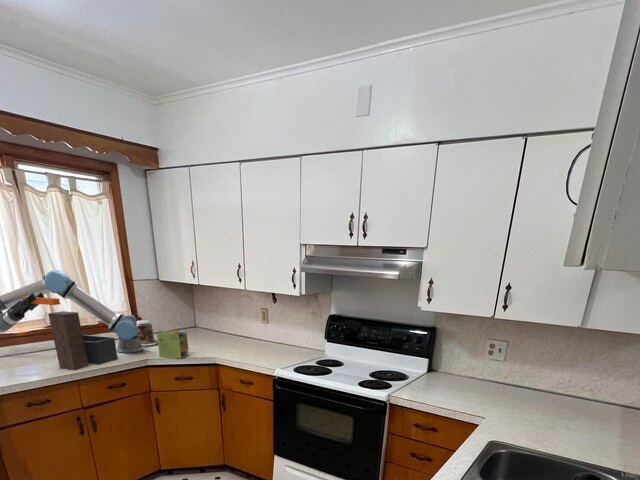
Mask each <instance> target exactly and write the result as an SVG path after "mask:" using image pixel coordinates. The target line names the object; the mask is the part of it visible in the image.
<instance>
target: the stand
mask: <svg viewBox="0 0 640 480" xmlns="http://www.w3.org/2000/svg"><path fill="white" fill-rule="evenodd" d="M47 316H48V319H49V325H50V329H51V333H52V338H53V343H54V347H55V352H56V357H57V361H58V366H59V369H62V370H70V371H71V370H72V371H77V370H81V369H83V368H86V367H89V363H88V361H87V356H86V351H85V346H84V340H83V335H84V334H83V331H82V325H81V320H80V315H79V312H78V311H66V310H62V311H55V312H49V313H47Z"/></svg>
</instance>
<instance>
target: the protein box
mask: <svg viewBox="0 0 640 480" xmlns="http://www.w3.org/2000/svg"><path fill="white" fill-rule="evenodd" d="M156 338H157V343H158V344H157V347H158V355H159V358H168V359H170V358H171V359H183V358H186V357H189V356H190V351H189V350H190V349H189V342H188V331H186V330H173V329H165V330H160V331H157V332H156Z"/></svg>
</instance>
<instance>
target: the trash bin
mask: <svg viewBox="0 0 640 480" xmlns="http://www.w3.org/2000/svg"><path fill="white" fill-rule="evenodd" d="M82 335H83V340H84V346H85V351H86V356H87V361H88V365H98V366H99V365H103V364H105V363H109V362H112V361H115V360H118V359H119V358H118V350H117V345H116V338H115V337H112V336H111V337H110V336H100V335H88V334H82Z"/></svg>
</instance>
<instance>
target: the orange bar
mask: <svg viewBox="0 0 640 480" xmlns="http://www.w3.org/2000/svg"><path fill="white" fill-rule="evenodd" d="M26 298H27V297H22V299H23V300H25V299H26ZM31 304H39V305H48V306H59V305H61V301H60V298H57V297H45V298H43V297H36V299H35V300H34V301H32V302H31Z"/></svg>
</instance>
